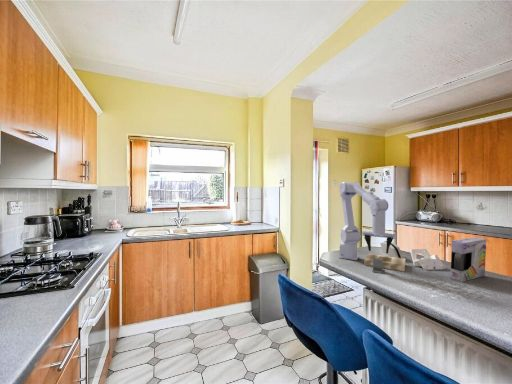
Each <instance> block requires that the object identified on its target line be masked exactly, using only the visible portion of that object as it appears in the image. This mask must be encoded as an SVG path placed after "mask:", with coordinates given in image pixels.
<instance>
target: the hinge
mask: <svg viewBox="0 0 512 384" xmlns="http://www.w3.org/2000/svg"><path fill="white" fill-rule="evenodd" d="M380 247H381V251H382V253H383V254H385V256H388V257H396V258H403V259H405V262H406V261H407V258H406V257H405V256H403V253H402V251H401V249H400V246H399V245H397V244H396V243H394V242H393V241H392V242H391V244H390V247H389V250H388V253H386V249H387V240H385V241H382V242H381V243H380Z"/></svg>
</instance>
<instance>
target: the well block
mask: <svg viewBox="0 0 512 384" xmlns="http://www.w3.org/2000/svg"><path fill="white" fill-rule="evenodd" d="M373 258H379V259H383V269H388V270H393V271H399V272H405V269H406V261H405V259H403V258H396V257H390V256H388V255H381V254H372V253H368V254H367V255H366V257H365V258H364V266H367V267H368V266H370V267H373Z"/></svg>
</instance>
